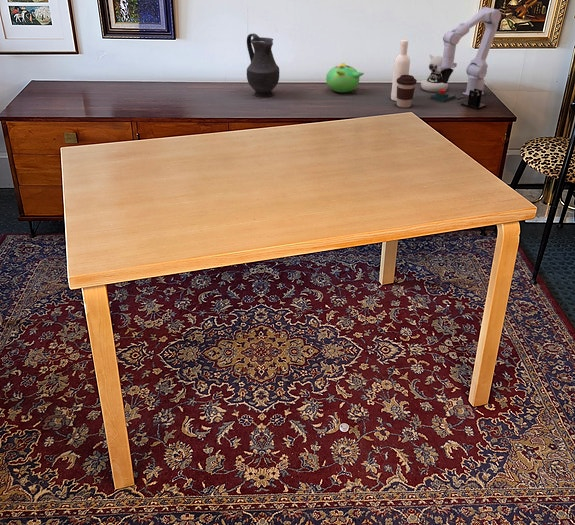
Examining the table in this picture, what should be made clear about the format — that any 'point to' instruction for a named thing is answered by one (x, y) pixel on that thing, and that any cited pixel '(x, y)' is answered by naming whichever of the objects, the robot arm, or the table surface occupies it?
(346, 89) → the toy bird
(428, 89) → the decorative figurine
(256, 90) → the pitcher
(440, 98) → the button box
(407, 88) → the coffee cup
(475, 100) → the bracket
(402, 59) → the bottle
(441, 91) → the stop button
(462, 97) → the lever
